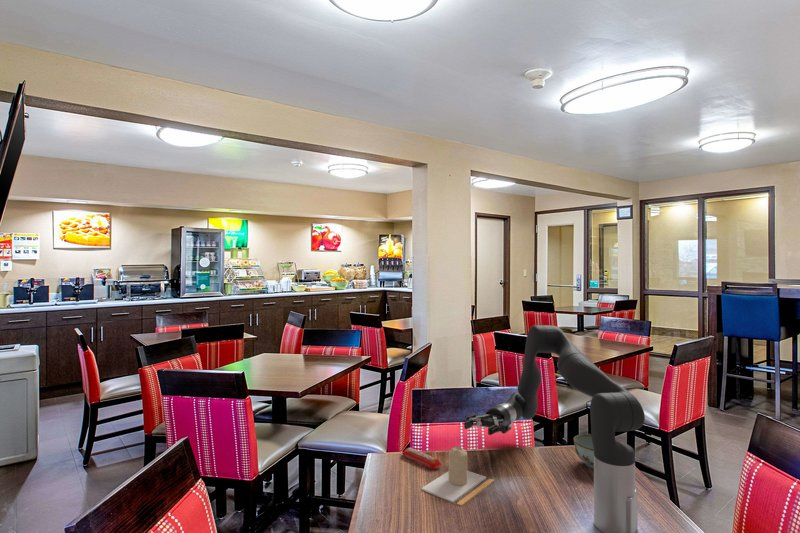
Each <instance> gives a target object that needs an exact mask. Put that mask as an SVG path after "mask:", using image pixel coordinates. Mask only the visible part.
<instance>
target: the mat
mask: <svg viewBox="0 0 800 533" xmlns="http://www.w3.org/2000/svg"><path fill="white" fill-rule="evenodd" d="M486 480H487V477H486V476H484V475H481V474H478V473H476V472H473V471H470V470H467V483H466V484H465V485H462V486H456V485H453V484H451V483H450V482H449V470H448V471H446V472H444V473H443V474H442V475H440V476H438V477H437V478H436V479H434V480H432V481H430V482H429V483H427V484H426V485H424V486H423V487H421V491H423V492H426V493H429V494H431V495H433V496H435V497H438V498H440V499H442V500H446V501H447V502H450V503H452V504H453V503H455V502H456V501H458V500H459V499H461V498H462V497H463V496H465V495H466V494H468V493H469V492H470V491H471V490H473V489H474V488H476V486H477V487H478V485H479V484H480V485H481V483H483V481H484V482H485V481H486Z"/></svg>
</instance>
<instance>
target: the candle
mask: <svg viewBox="0 0 800 533" xmlns="http://www.w3.org/2000/svg"><path fill="white" fill-rule="evenodd" d="M448 471H449V482H450V483H451V484H453V485H456V486H462V485H465V484H466V483H467V471H468V452H467V451H466V450H465V449H464V448H462V446H453V447H452V448H451V449H450V450H449V451H448Z"/></svg>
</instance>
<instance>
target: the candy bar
mask: <svg viewBox="0 0 800 533" xmlns="http://www.w3.org/2000/svg"><path fill="white" fill-rule="evenodd" d="M401 455H403V457H404V458H406V459H409V460H410V461H412V462H415V463H417V464H419V465H421V466H424V467H425V468H427V469H431V470H437V469H438V468H439V467H440V466H442V463H441V462H440V460H439V459H438V458H436V457H434V456H432V455H430V454H427V453H425V452H423V451H420V450H418V449H416V448H413V447H411V446H410V447H407V448H405V449H404V451H403V452H402V453H401Z"/></svg>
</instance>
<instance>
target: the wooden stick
mask: <svg viewBox="0 0 800 533" xmlns="http://www.w3.org/2000/svg"><path fill="white" fill-rule="evenodd" d="M494 482H495V479H493V478H488V479H486V480H485V481H484V482H482V484H480V485H479V486H477V487H475V489H474V490H473V491H471V492H470V493H467V495H466V496H465V497H463V498H462V499H460V500H459V501H458V502H456V505H458V506H460V507H463V506H465V505H466V504H467V503H469V501H471V500H472V499H473V498H475V497H476V496H478V495H479V494H480V493H481V492H482V491H484V490H486V488H488V487H489V486H490V485H492V484H493V483H494Z"/></svg>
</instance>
